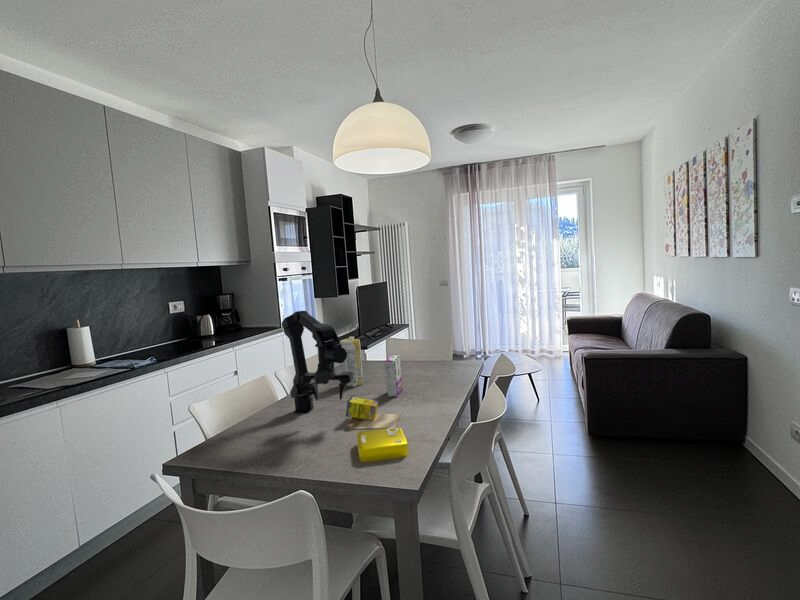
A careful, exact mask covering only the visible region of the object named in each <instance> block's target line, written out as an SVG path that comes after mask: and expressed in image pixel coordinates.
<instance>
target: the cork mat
mask: <svg viewBox="0 0 800 600" xmlns="http://www.w3.org/2000/svg"><path fill="white" fill-rule="evenodd" d="M400 418H401V413H393V414H392V413H391V414H389V413H385V414H381V413H379V414H377V416H376V418H375V419H374V421H372V420H366V419H360V418H359V419H358V420H357V422H356V423H355V425H354V426H353V428H352V430H378V429H386V428H394V427H397V424H398V422H399V419H400Z"/></svg>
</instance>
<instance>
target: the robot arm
mask: <svg viewBox="0 0 800 600" xmlns="http://www.w3.org/2000/svg"><path fill="white" fill-rule="evenodd" d="M281 327H282V330H283V333H284V335H285V336H286V337H287V338H288V339H289V344H290V349H291V350H290V351H291V354H292V359H293V366H294V371H295V375H294V377H293V379H292V383H293V384H292V385H293V386H292V388H291V390H290V391H289V394H290V397H291V398H292V399H294V408H295V409H294V411H293V413H295V414H296V413H299V414H300V413H302V414H304V413H310V412H311V411H312V410H313V409H314V407H315V406H314V400H313V397H312V396H313V395H314V398H315V400H316V401H318V400H319V385H321V384H322V385H327V384H329V382H330V381H339V383H338V386H339V401H341V400H343V396H344V393H345V392H344V391H345V389H346V387H347V386H346V385H347V384H348V383H350V382H351V381H352V380H353V373H352V372H342V371H341V373H340V374H336V370H335V363H337V364H341V363H343V362H344V361H345V360H346V358H347V352H346V350H345V349H344V348H342V345H341V344H340V337H339V336H338V334H337V332H336V330H335V328H334V326H332V325H330V324H328V323H322V322H320V321H319V320H317V319H316V318H315V317H314V316H311V315H310V313H308V311H307V310H298V311H295V312H293V313H292V314H291V315H288V316H286V317H285V318H283V320H282V321H281ZM305 328H306V329H307V330H308V331H309V332H310V333H311V335H312V336H311V337H312V339H314V341H315V342H316V344H314V347H315V348H317V359H318V363H317V369H316V372H310V371H309V370H308V364H307V361H306V356H305V354H306V353H305V349H304V344H303V340H302V339H303V338H302V336H303V333H304V331H305Z"/></svg>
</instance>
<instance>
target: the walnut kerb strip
mask: <svg viewBox="0 0 800 600" xmlns="http://www.w3.org/2000/svg"><path fill="white" fill-rule="evenodd" d="M358 419H359V418H354V417H351V418H350V420H349V421H348V423H347V424H346V425H345V429H346V430H345V431H352V430H353V429H352V428H353V426H354V425H355V423H356V422H357V420H358Z"/></svg>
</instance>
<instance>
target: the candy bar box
mask: <svg viewBox="0 0 800 600" xmlns="http://www.w3.org/2000/svg"><path fill="white" fill-rule="evenodd" d="M384 366H385V367H384V369H385V379H386V381H385V382H386V389H387V390H386V392H387V393H386V394H387V398H388V397H389V398H391V397H393V398H394V397H395V398H397V397H399V395H400V393H402V390H403V382H402V381H403V379H402V367H401V356H400V354H397V355H395V354H394V355H392V354H391V355H389V356H388V358H387V359H386V360H384Z"/></svg>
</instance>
